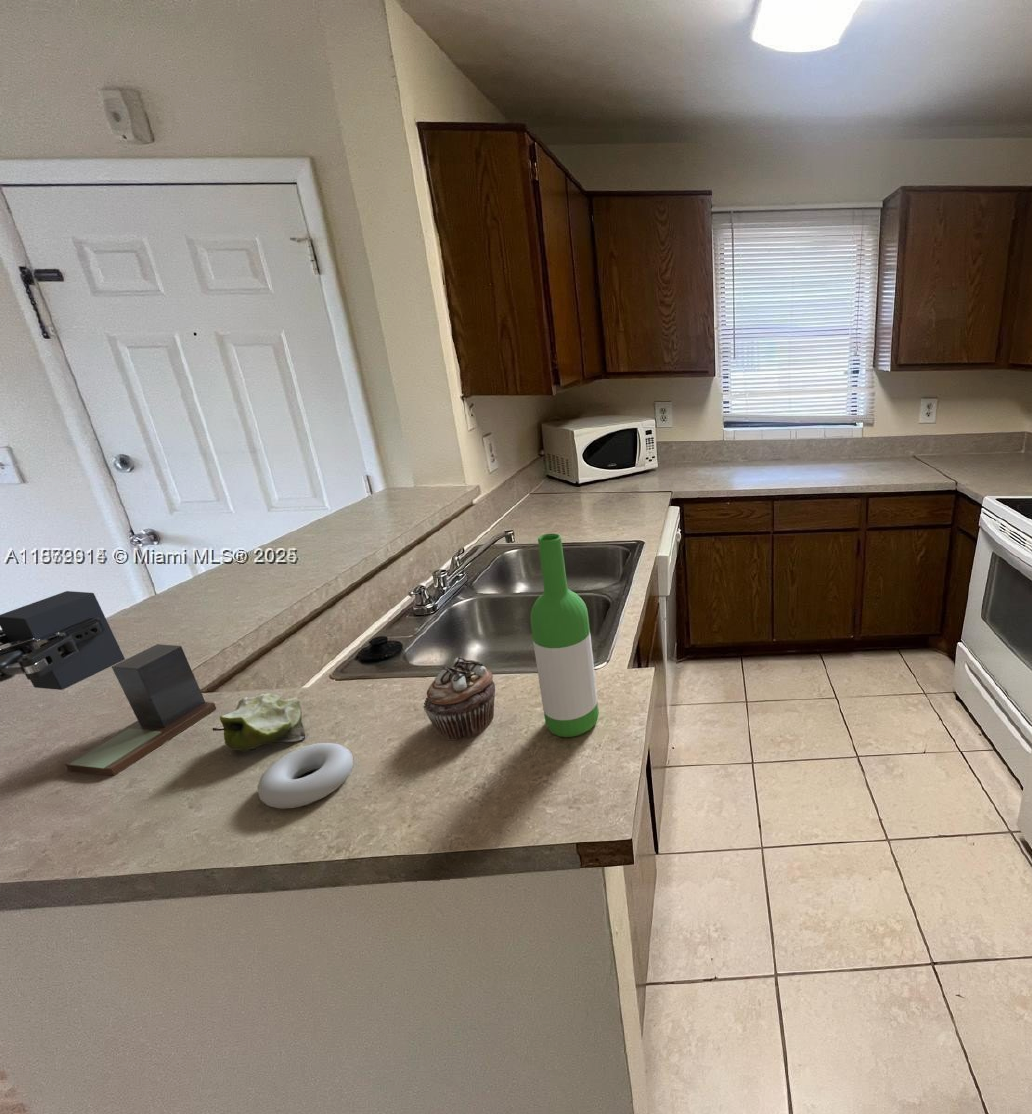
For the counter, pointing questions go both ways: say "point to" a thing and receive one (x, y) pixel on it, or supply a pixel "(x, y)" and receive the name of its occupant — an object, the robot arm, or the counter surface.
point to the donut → (290, 792)
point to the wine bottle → (563, 648)
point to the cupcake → (461, 700)
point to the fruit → (262, 722)
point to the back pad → (56, 617)
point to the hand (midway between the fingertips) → (83, 623)
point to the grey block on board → (148, 709)
